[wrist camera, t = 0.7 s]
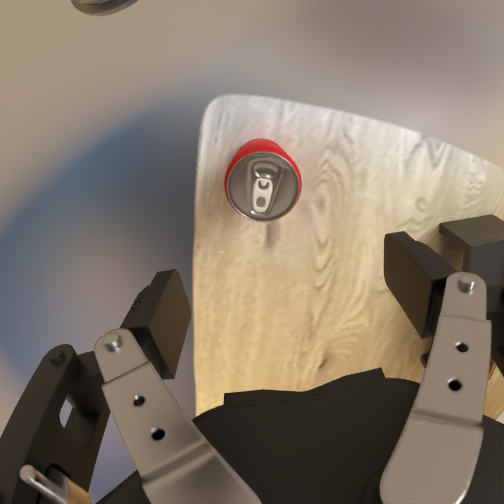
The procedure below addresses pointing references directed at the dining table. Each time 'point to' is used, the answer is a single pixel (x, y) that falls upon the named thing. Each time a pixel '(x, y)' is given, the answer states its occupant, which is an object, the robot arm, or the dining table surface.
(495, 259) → the shelf
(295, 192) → the beverage can
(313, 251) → the dining table surface
